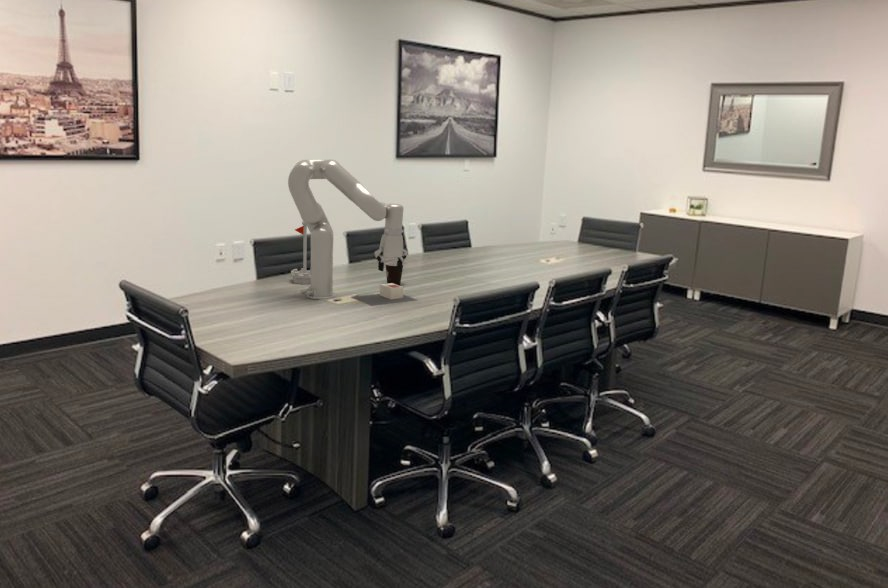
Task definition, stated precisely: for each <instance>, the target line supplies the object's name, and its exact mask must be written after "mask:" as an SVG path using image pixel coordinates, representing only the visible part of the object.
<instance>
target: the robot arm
mask: <svg viewBox="0 0 888 588" xmlns="http://www.w3.org/2000/svg"><path fill="white" fill-rule="evenodd" d="M310 180H327V181H328V182H329V183H330V184H331V185H333V186H334V187H335V188H336V189H337V190H338V191H339V192H341V193H342V194H343V195H344V196H345V197H346V198H347V199H348V200H349V201H350V202H352V203H353V204H355V206H357V207H358V208H359V209H360V210H361V211H362V212H363V213H364V214H366V215H367V216H368V217H369V218H370V219H372V220H373V221H374V222H375V221H376V222H381V221H383V220H384V219H385V221H384V232H383V234H382V235H381V239H380V244H379V248H378V249H377V250H375V251H374V252H373V254H374V256H375V259H376V260H377V262H378V266H377V268H378V269H377V270H378V271H381V272H384V269H385V268H384V267H385V262H384V261H385V260H386V259H395V258H397V261H396V263H397V270H402V264H403V263H404V261H405V259H406V258H407V255H408V254H409V251H408V250H406V249H404V239H403V237H404V236H403V235H402V233H404V229H403V220H404V206H403V205H402V204H399V203H386V202H382V201H379V200H377V199H376V198H375V197H374V196H373V195H372V194H371V193H370V192H369V191H368V190H367V189H366V188H365V187H364V185H363V184H362V183H361V182H360V181H359V180H358V179H357V178H355V176H353V174H351V173H350V172H349V171H348V170H347V169H345V168H344V166H343V165H341V164H340V163H339V162H338V161H337V160H336V159H301V160H299V161H298V162H297V163H296V164H295V165H294V166H293V168H292V169H291V171H290V173H289V174H288V178H287V185H288V191H289V193H290V196H291V197H292V200H293V202H294V204H295V206H296V209H297V211H298V213H299V216H300V218H301V221H304V222H305V223H306V225H307V230H308V231H309V233H310V269H311V284H310V286H309V285H308V287H307V288H305V289H299V292H300V294H301V295H306V297H307V298H308V299H312V300H328V299H332V298H333V299H334V298H336V297H337V294H336V293H335V292H333V282H334V281H333V279H334V278H333V272H334V269H333V268H334V263H333V262H334V230H333V228H332V226H331V224H330V221H329V220H328V217H327V215H326V213H325V212H324V209H323V208H322V205H321V204H319V202H317V200H316V198H315V196H314V194H313V192H312V190H311V189H312V188H310V183H309V182H310ZM402 271H403V270H402Z"/></svg>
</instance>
